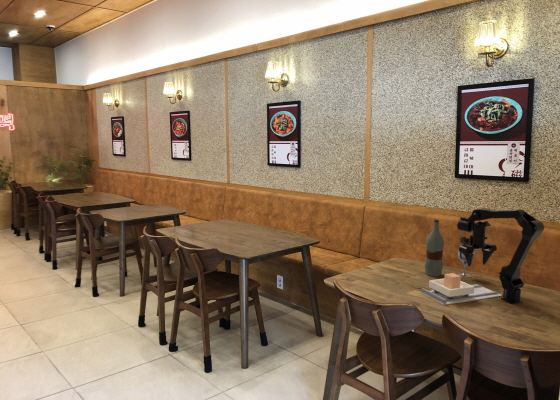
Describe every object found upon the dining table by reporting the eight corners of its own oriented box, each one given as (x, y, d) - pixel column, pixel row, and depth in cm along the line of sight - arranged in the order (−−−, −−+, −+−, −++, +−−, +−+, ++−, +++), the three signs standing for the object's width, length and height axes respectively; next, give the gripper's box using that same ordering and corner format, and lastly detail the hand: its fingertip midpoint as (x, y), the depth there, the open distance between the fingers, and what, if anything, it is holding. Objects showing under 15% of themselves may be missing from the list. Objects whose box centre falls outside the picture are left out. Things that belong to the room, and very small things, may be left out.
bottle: (421, 271, 243) (424, 218, 239) (436, 270, 245) (439, 218, 240) (429, 277, 234) (433, 221, 230) (445, 276, 236) (449, 221, 231)
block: (459, 288, 205) (460, 276, 204) (451, 289, 203) (452, 277, 202) (452, 285, 209) (453, 273, 208) (443, 286, 208) (444, 274, 207)
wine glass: (474, 278, 233) (477, 250, 230) (459, 278, 233) (461, 250, 231) (468, 273, 241) (470, 246, 238) (454, 273, 241) (456, 246, 238)
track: (502, 296, 207) (502, 291, 207) (443, 304, 196) (444, 300, 195) (476, 285, 222) (477, 280, 222) (420, 292, 210) (421, 288, 210)
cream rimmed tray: (473, 297, 202) (474, 286, 202) (449, 300, 198) (449, 290, 197) (452, 287, 215) (452, 277, 215) (428, 290, 211) (429, 280, 210)
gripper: (481, 229, 223) (478, 259, 225) (451, 231, 217) (449, 262, 219) (498, 234, 213) (496, 265, 215) (468, 236, 206) (466, 269, 209)
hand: (476, 265), depth 215 cm, fingers open, 9 cm apart
